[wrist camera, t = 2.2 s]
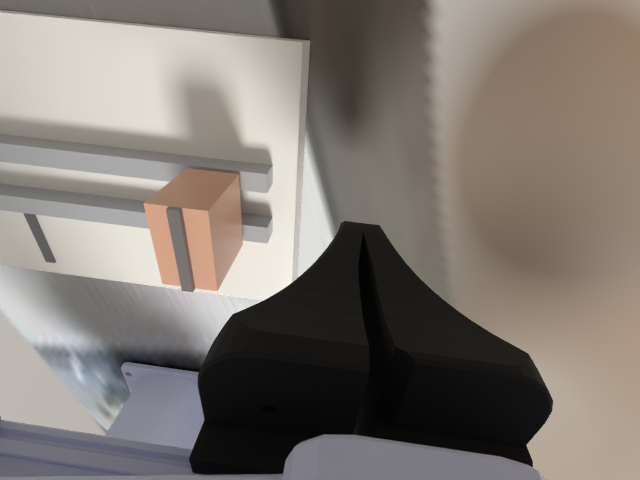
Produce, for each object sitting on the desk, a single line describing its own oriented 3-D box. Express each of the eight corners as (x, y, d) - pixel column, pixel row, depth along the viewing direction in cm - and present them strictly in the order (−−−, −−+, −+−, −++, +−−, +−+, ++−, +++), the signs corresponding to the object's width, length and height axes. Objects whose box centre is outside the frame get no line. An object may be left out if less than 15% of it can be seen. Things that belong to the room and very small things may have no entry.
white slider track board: (296, 280, 19) (287, 317, 17) (3, 242, 20) (-48, 272, 17) (310, 40, 13) (297, 42, 10) (-127, -3, 13) (-240, -11, 11)
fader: (248, 233, 15) (215, 294, 11) (205, 228, 15) (159, 287, 11) (246, 165, 13) (205, 214, 10) (196, 160, 13) (139, 206, 10)
